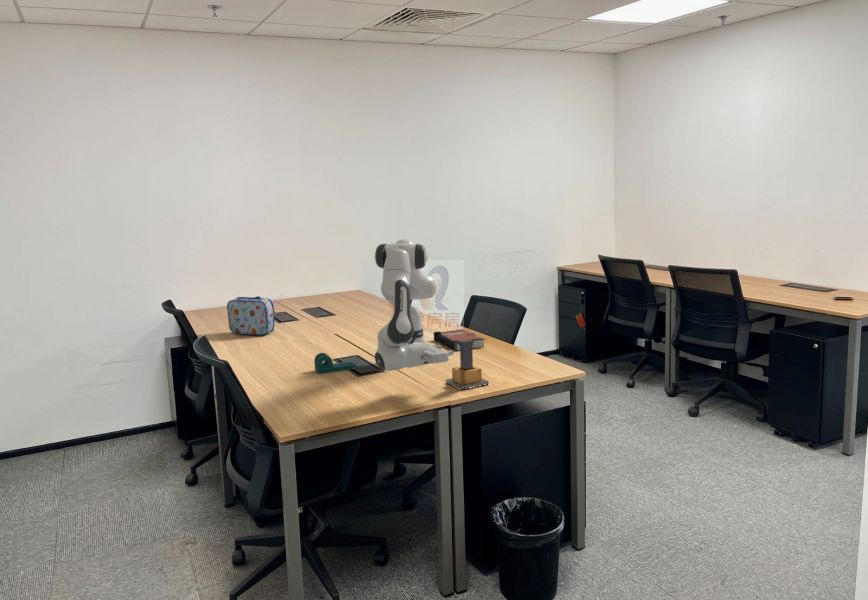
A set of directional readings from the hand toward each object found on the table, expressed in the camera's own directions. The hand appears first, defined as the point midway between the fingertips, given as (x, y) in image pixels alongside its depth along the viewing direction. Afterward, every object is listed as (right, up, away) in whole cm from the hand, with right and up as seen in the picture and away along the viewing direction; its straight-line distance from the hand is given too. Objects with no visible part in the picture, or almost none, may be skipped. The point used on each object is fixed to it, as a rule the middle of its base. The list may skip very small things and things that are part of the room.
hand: (446, 349), depth 275 cm
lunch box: (-107, 0, +114) cm, 156 cm away
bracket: (-49, -12, +35) cm, 61 cm away
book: (+8, -3, +76) cm, 77 cm away
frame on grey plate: (+8, -15, +7) cm, 18 cm away
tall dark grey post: (+8, -15, +7) cm, 18 cm away
